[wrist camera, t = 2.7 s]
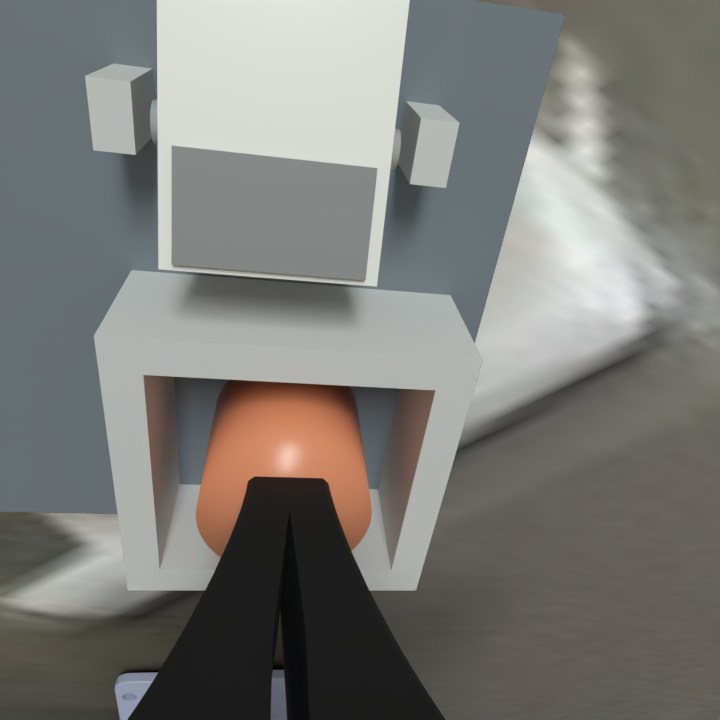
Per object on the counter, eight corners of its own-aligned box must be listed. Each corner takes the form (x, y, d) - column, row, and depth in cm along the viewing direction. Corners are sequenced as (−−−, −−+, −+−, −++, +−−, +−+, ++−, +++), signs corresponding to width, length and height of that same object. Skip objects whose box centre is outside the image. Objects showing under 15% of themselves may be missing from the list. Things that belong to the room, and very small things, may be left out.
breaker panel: (413, 468, 18) (445, 600, 14) (24, 455, 16) (-60, 602, 12) (524, 9, 11) (641, 23, 7) (-106, -90, 10) (-369, -138, 6)
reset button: (348, 470, 14) (360, 574, 12) (215, 466, 14) (197, 574, 11) (366, 361, 13) (384, 455, 10) (214, 352, 12) (193, 449, 10)
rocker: (378, 272, 10) (391, 289, 9) (160, 254, 9) (142, 269, 8) (408, 9, 9) (428, -15, 7) (159, -29, 8) (136, -62, 7)
